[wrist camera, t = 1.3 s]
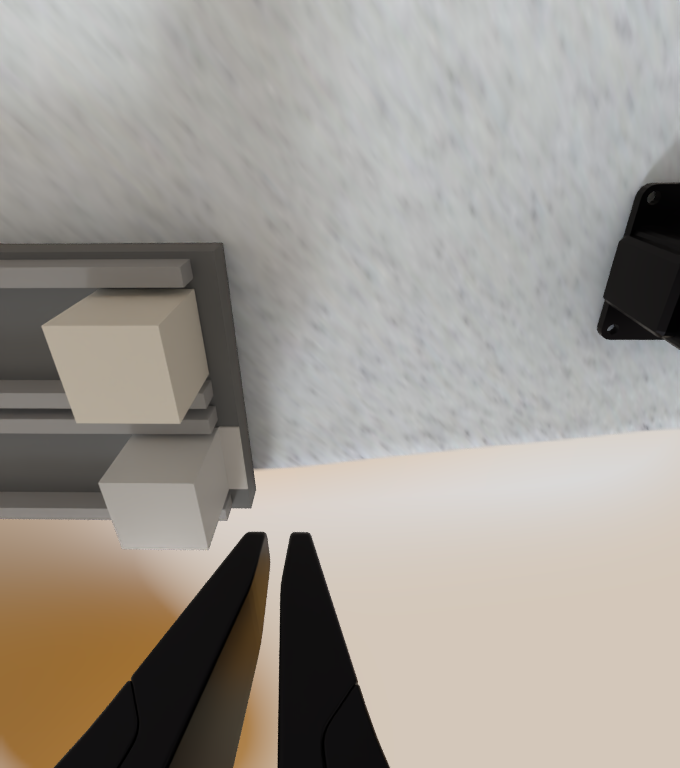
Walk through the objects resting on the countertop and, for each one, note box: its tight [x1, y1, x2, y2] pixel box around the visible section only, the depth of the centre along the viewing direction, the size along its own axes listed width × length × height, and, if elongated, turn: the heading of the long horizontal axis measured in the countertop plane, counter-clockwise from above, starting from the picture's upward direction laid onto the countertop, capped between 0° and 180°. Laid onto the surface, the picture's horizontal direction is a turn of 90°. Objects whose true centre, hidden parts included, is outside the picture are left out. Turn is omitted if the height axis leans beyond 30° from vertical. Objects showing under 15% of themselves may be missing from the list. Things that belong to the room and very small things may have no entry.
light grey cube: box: [98, 428, 229, 550], centre depth 21 cm, size 4×4×4 cm
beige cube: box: [41, 289, 209, 424], centre depth 18 cm, size 4×4×4 cm
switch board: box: [0, 243, 256, 521], centre depth 22 cm, size 16×14×3 cm
